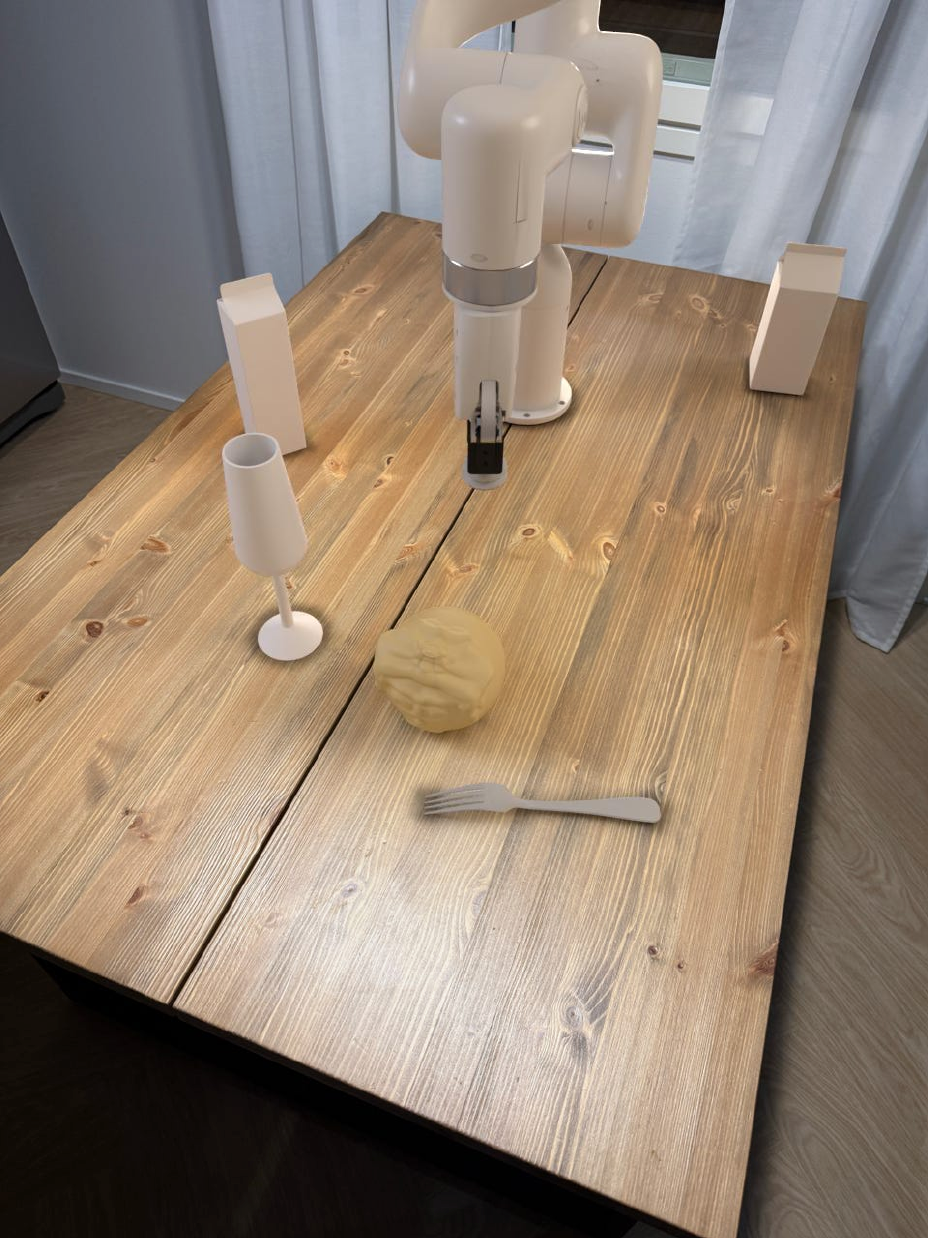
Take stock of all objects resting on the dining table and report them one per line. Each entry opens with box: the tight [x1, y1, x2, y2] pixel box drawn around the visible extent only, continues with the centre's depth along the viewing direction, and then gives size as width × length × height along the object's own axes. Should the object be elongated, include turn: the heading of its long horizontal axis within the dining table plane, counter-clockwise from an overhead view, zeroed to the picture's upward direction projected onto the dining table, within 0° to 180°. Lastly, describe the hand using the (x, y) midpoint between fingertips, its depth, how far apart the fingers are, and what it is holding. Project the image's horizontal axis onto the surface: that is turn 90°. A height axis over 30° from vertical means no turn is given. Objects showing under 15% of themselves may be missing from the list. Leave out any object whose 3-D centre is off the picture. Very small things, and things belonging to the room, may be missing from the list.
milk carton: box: [749, 241, 848, 396], centre depth 116 cm, size 7×7×19 cm
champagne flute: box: [221, 433, 324, 661], centre depth 83 cm, size 7×7×24 cm
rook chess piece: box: [460, 405, 509, 492], centre depth 82 cm, size 4×4×8 cm
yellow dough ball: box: [372, 605, 507, 734], centre depth 83 cm, size 12×12×11 cm
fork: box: [423, 781, 662, 824], centre depth 79 cm, size 3×21×3 cm, turn 88°
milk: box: [216, 272, 307, 456], centre depth 105 cm, size 6×6×22 cm
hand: (484, 455), depth 83 cm, fingers closed on rook chess piece, 3 cm apart
